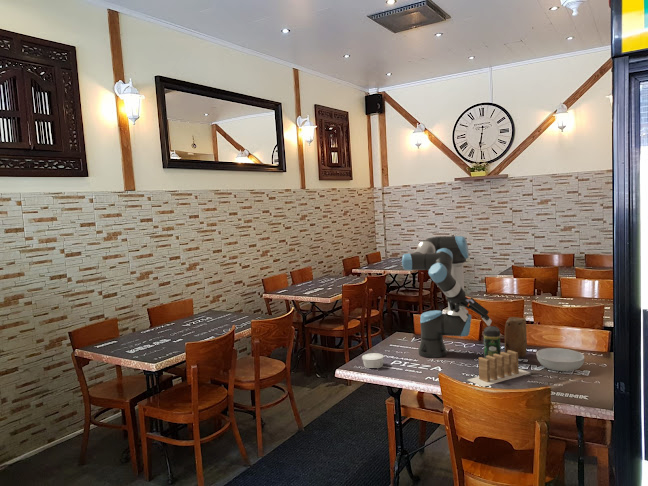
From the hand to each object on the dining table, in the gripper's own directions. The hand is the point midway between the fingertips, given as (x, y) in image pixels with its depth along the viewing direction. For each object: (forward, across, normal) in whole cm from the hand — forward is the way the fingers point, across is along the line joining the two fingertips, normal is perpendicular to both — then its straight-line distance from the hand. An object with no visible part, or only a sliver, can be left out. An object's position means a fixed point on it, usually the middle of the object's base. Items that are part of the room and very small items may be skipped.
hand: (477, 321), depth 219 cm
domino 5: (+32, +4, -5) cm, 32 cm away
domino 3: (+26, +3, -12) cm, 28 cm away
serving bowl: (+49, +12, +11) cm, 52 cm away
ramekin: (+3, -49, -36) cm, 61 cm away
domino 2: (+22, +3, -15) cm, 27 cm away
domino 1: (+20, +2, -18) cm, 27 cm away
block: (+48, -13, +12) cm, 52 cm away
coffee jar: (+36, -12, -1) cm, 38 cm away
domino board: (+26, +3, -12) cm, 29 cm away
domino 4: (+29, +4, -8) cm, 30 cm away
